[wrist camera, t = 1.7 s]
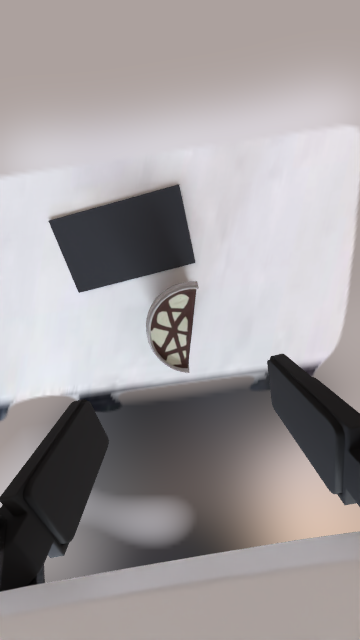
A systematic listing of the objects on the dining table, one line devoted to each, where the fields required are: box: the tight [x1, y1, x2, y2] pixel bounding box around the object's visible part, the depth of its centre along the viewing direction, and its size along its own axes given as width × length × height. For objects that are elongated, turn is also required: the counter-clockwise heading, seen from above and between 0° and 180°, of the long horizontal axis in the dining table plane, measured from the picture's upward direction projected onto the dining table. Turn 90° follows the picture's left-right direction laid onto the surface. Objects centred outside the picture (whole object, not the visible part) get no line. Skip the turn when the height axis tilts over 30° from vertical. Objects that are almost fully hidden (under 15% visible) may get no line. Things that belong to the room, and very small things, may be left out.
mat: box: [49, 185, 195, 292], centre depth 27 cm, size 20×11×1 cm, turn 104°
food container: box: [146, 281, 198, 373], centre depth 26 cm, size 12×6×10 cm, turn 176°
